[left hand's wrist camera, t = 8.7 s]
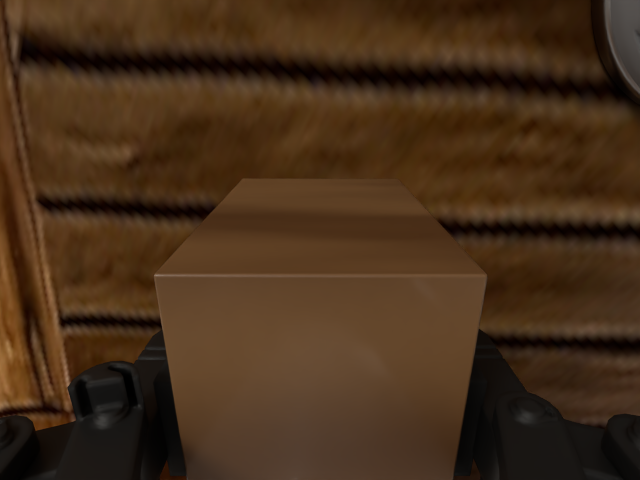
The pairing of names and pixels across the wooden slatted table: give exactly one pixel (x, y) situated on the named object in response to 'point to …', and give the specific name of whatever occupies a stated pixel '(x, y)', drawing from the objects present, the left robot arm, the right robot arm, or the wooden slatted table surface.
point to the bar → (320, 334)
